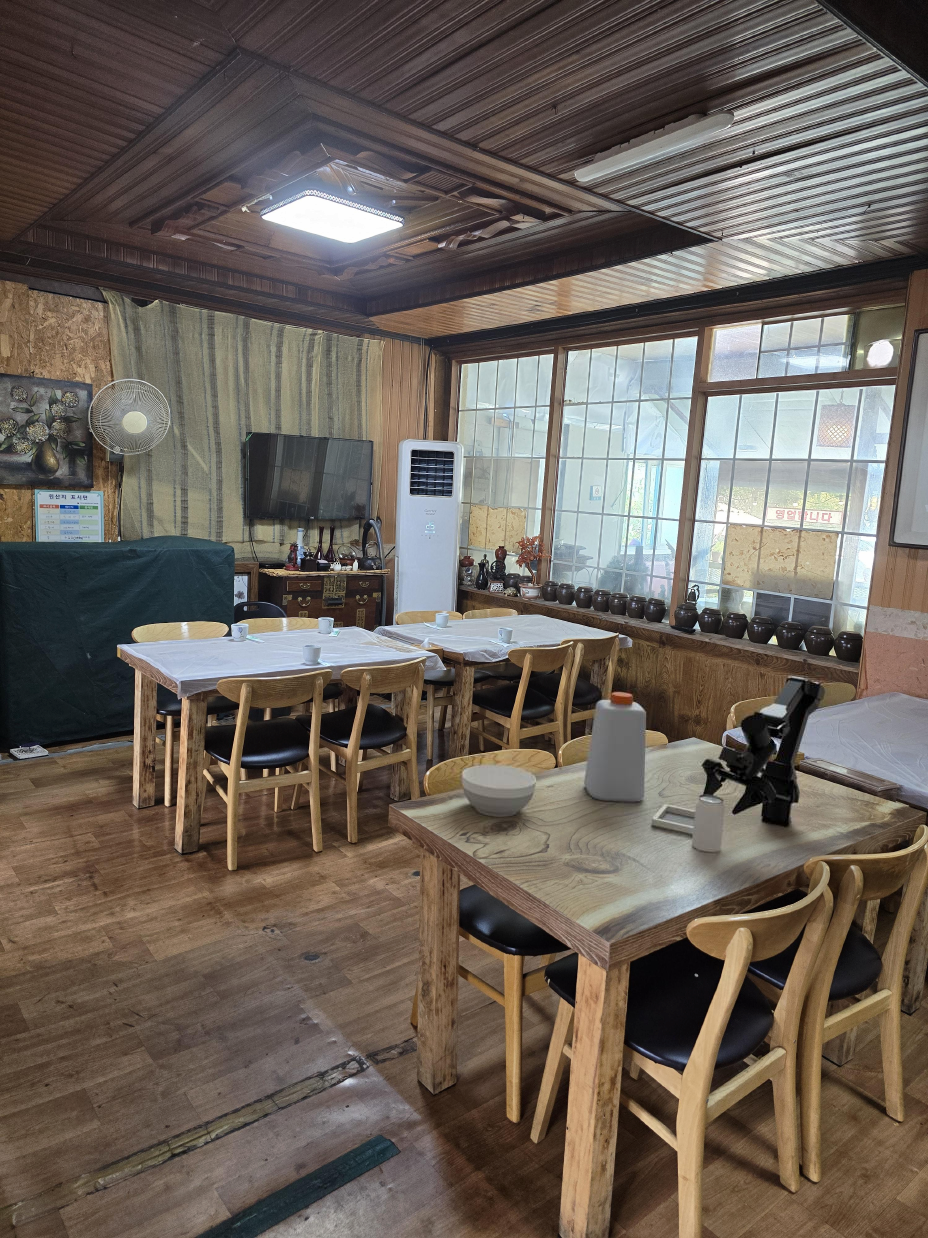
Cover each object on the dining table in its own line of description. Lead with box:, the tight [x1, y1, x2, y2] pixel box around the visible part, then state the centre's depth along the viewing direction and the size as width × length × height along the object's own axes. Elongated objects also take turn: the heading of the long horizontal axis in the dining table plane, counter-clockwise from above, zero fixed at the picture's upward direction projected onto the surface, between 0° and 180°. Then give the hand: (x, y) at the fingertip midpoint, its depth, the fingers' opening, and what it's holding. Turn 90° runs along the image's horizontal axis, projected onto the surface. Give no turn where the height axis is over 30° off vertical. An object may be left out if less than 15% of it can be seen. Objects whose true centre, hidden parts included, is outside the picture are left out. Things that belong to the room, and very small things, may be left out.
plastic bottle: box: [583, 691, 647, 803], centre depth 230 cm, size 15×15×28 cm
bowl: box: [461, 764, 537, 818], centre depth 213 cm, size 19×19×9 cm
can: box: [691, 794, 726, 854], centre depth 196 cm, size 6×6×12 cm
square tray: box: [650, 803, 695, 837], centre depth 211 cm, size 13×13×2 cm
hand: (717, 807), depth 197 cm, fingers open, 9 cm apart
